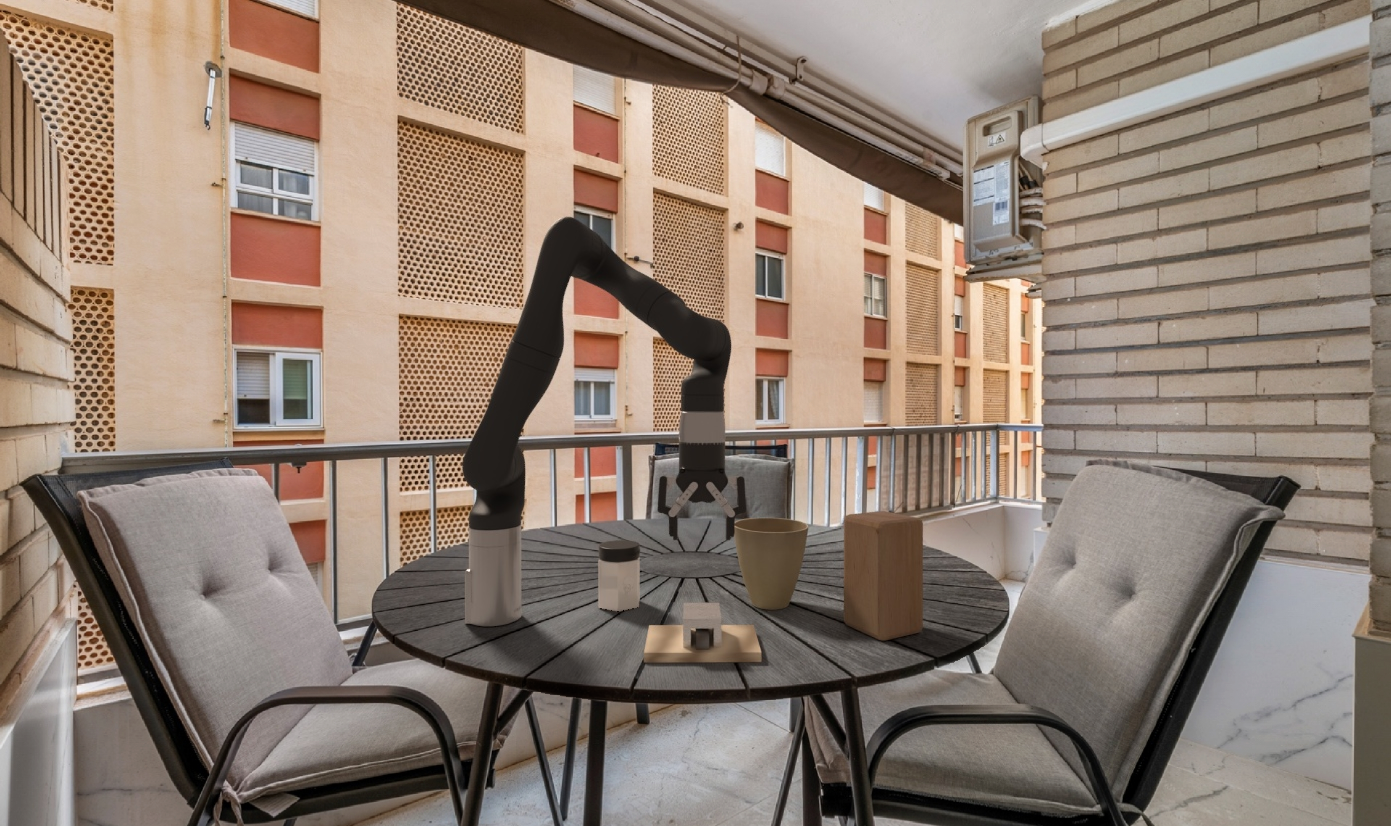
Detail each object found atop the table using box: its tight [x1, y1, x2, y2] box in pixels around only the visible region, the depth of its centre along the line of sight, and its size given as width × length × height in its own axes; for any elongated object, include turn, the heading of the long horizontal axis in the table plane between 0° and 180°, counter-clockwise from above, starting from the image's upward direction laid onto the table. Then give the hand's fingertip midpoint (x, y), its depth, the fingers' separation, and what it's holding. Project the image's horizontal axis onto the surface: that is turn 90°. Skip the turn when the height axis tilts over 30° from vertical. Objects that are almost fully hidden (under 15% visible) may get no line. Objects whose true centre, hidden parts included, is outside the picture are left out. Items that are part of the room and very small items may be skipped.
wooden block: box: [843, 510, 924, 642], centre depth 108 cm, size 10×10×20 cm
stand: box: [643, 624, 762, 664], centre depth 100 cm, size 18×12×4 cm, turn 90°
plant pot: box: [733, 517, 809, 611], centre depth 122 cm, size 15×15×16 cm
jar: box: [597, 539, 641, 612], centre depth 122 cm, size 9×8×12 cm
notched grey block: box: [682, 602, 722, 648], centre depth 100 cm, size 6×8×4 cm
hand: (701, 539), depth 100 cm, fingers open, 8 cm apart
